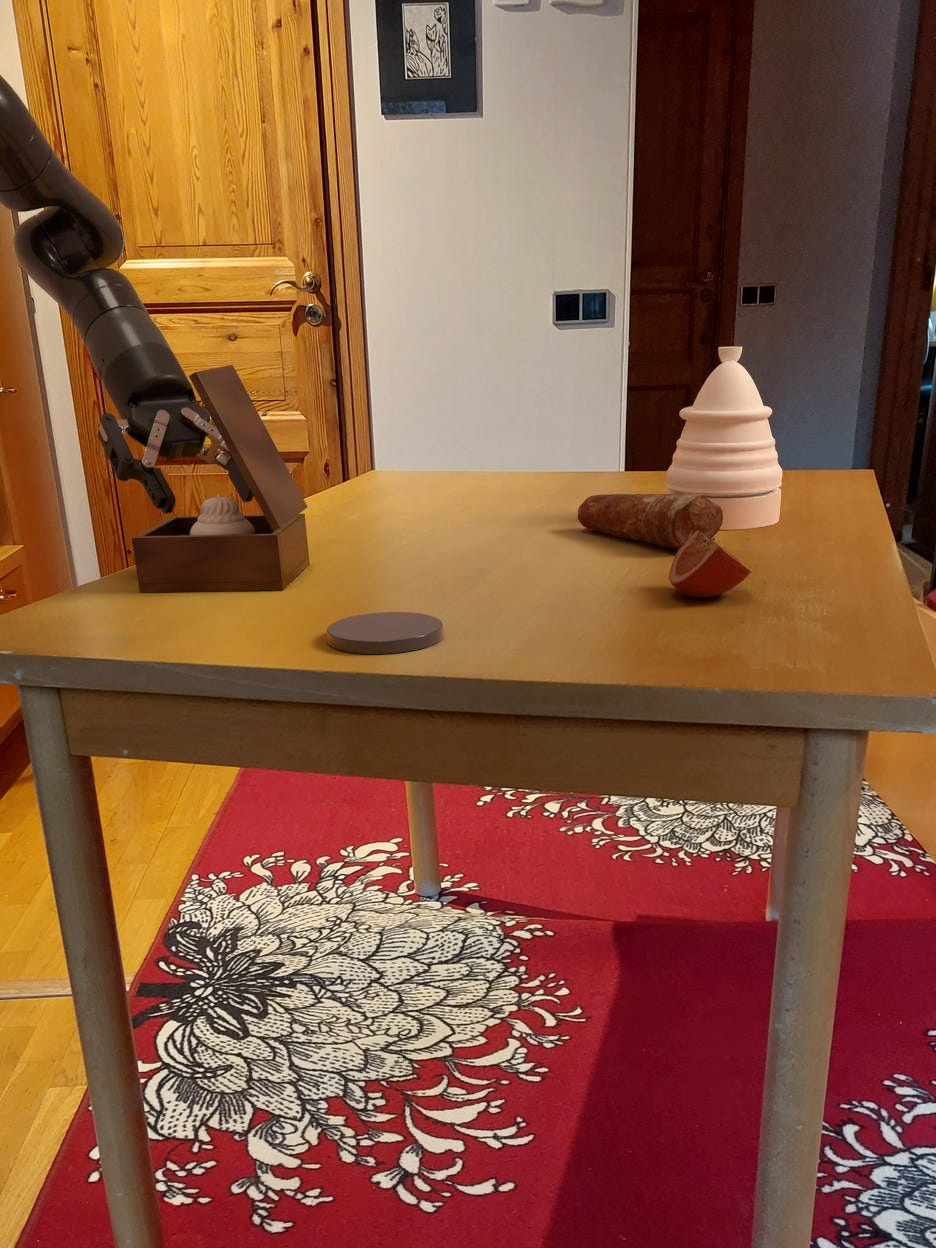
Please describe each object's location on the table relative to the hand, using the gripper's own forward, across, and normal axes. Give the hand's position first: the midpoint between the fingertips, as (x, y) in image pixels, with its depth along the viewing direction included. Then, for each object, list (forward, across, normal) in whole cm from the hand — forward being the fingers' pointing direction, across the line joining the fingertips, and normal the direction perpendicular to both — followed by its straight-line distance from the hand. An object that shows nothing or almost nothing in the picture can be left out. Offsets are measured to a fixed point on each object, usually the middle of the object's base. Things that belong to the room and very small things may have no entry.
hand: (211, 502), depth 111 cm
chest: (+6, 0, +4) cm, 7 cm away
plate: (+27, -3, -17) cm, 32 cm away
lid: (-1, +2, -6) cm, 7 cm away
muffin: (+6, 0, +4) cm, 7 cm away
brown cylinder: (+19, +39, -8) cm, 44 cm away
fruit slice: (+34, +25, -23) cm, 48 cm away
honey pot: (+18, +54, -8) cm, 58 cm away
